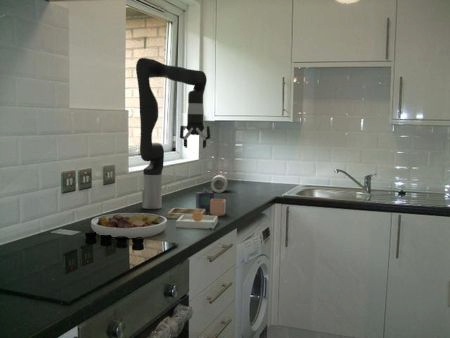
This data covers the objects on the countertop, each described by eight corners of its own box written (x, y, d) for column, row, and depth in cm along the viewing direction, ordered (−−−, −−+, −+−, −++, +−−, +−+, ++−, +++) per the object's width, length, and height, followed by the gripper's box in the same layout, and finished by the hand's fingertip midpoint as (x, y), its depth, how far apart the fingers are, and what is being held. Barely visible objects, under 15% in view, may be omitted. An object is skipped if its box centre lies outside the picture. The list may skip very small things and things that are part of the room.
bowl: (98, 223, 213) (98, 206, 212) (168, 224, 215) (168, 206, 214) (83, 241, 183) (83, 220, 183) (164, 241, 185) (164, 220, 185)
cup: (209, 215, 235) (209, 201, 234) (211, 212, 242) (211, 198, 241) (224, 216, 234) (224, 201, 233) (225, 213, 241) (225, 199, 240)
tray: (176, 227, 208) (176, 220, 208) (182, 220, 222) (182, 214, 222) (213, 228, 207) (213, 222, 207) (217, 221, 221) (217, 215, 220)
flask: (196, 210, 247) (196, 189, 246) (195, 209, 249) (195, 188, 248) (214, 209, 250) (214, 189, 248) (212, 208, 252) (212, 188, 251)
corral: (167, 217, 227) (167, 213, 227) (173, 212, 241) (173, 207, 241) (201, 219, 225) (201, 214, 225) (205, 213, 239) (205, 209, 239)
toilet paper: (211, 190, 318) (212, 174, 317) (227, 190, 318) (227, 175, 316) (210, 192, 308) (211, 176, 307) (226, 192, 308) (227, 177, 307)
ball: (191, 222, 212) (191, 212, 212) (193, 220, 217) (193, 210, 216) (201, 223, 212) (202, 212, 211) (203, 220, 216) (203, 210, 216)
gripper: (178, 113, 228) (178, 148, 230) (209, 113, 226) (208, 148, 228) (182, 113, 235) (181, 147, 237) (211, 113, 234) (210, 147, 236)
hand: (195, 147), depth 233 cm, fingers open, 8 cm apart
